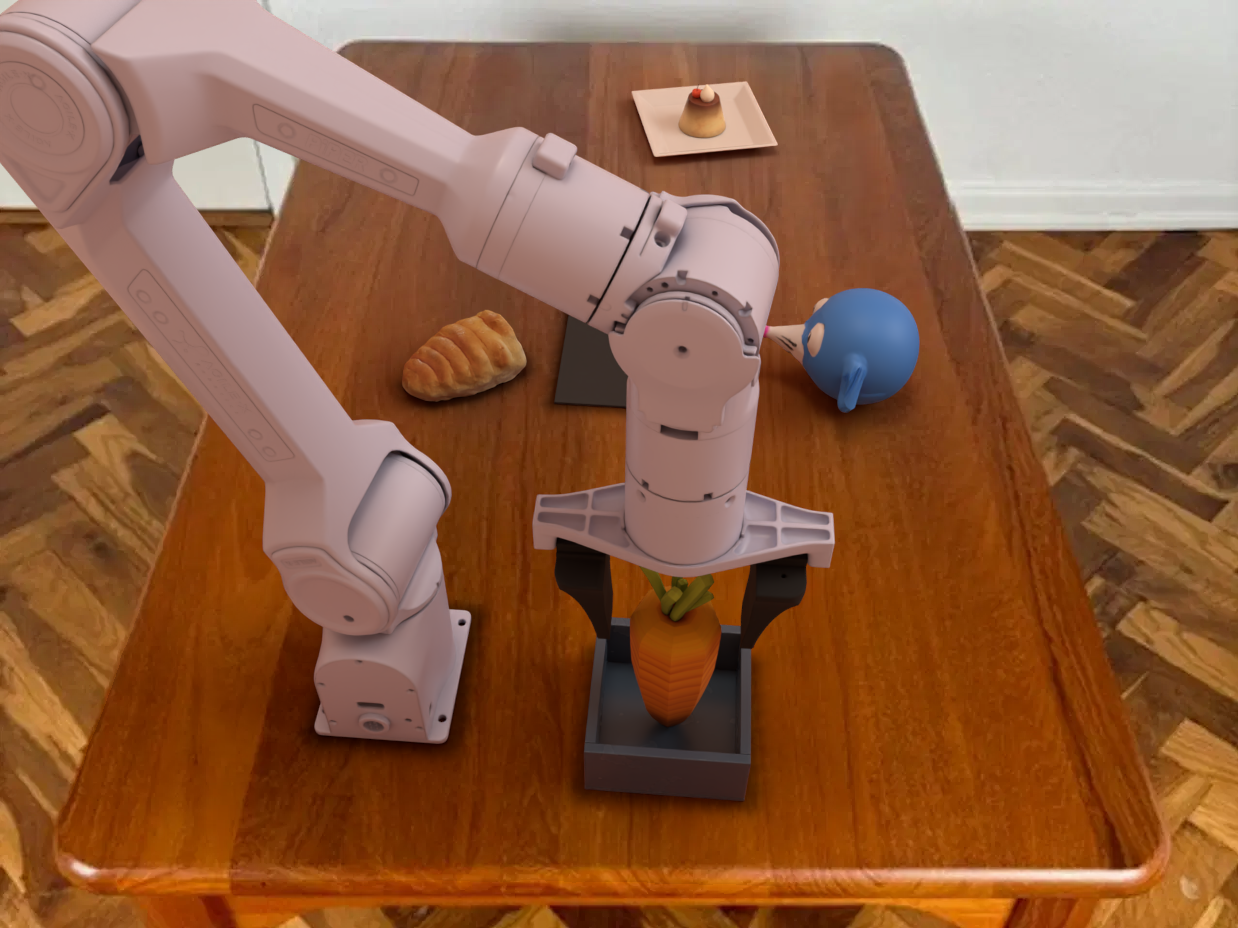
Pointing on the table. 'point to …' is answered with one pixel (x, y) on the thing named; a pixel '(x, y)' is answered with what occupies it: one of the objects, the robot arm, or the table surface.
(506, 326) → the pastry
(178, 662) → the table surface
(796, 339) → the blue mole toy
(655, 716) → the carrot
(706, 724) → the bin
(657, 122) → the dessert
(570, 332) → the mat
